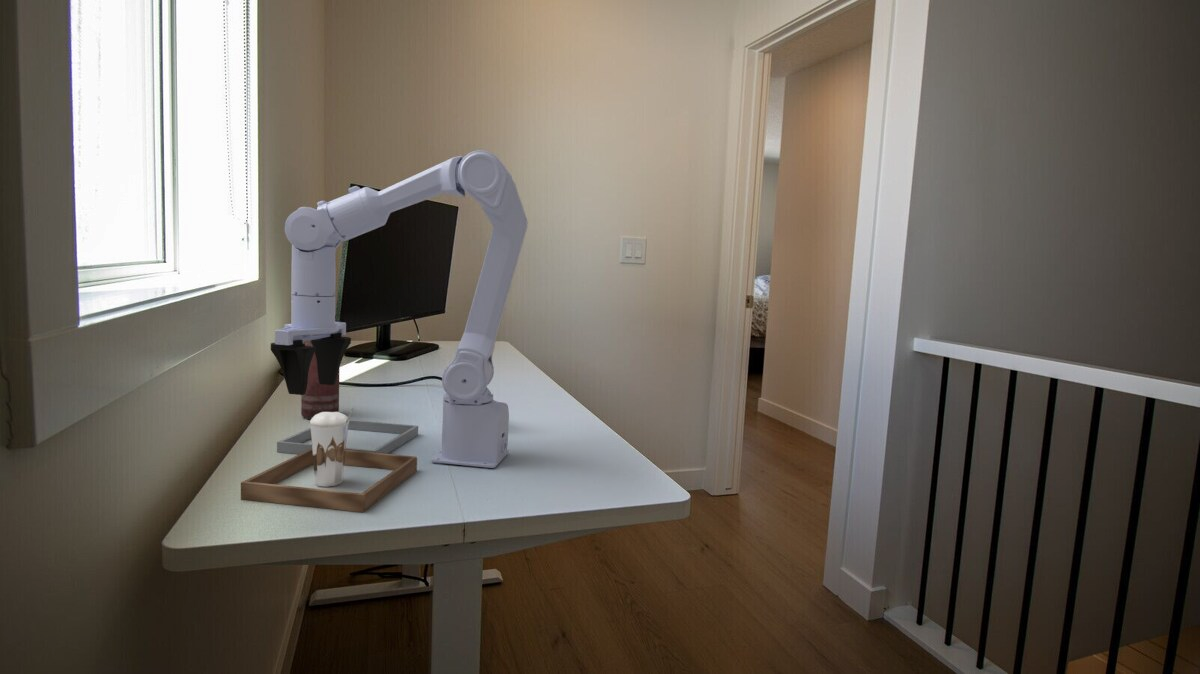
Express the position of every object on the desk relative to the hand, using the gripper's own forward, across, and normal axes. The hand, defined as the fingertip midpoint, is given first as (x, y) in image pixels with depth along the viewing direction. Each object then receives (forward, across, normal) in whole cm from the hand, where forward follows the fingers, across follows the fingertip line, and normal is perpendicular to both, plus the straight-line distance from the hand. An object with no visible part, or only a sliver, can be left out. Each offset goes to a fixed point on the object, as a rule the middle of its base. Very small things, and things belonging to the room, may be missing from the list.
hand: (312, 389), depth 89 cm
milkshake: (+10, +11, +9) cm, 17 cm away
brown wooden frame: (+9, +11, +10) cm, 18 cm away
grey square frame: (+9, -6, +3) cm, 12 cm away
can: (+10, -19, -10) cm, 24 cm away
